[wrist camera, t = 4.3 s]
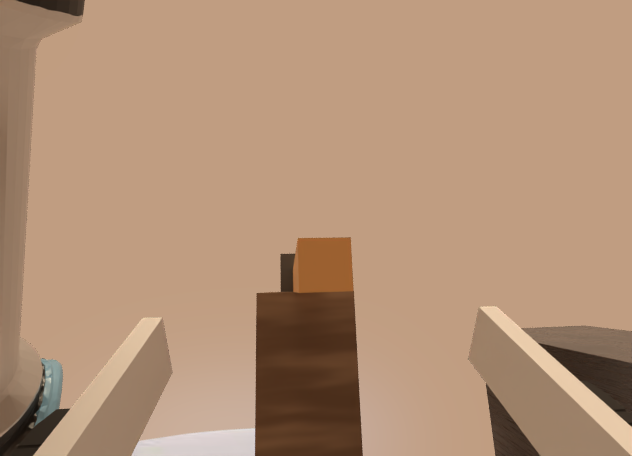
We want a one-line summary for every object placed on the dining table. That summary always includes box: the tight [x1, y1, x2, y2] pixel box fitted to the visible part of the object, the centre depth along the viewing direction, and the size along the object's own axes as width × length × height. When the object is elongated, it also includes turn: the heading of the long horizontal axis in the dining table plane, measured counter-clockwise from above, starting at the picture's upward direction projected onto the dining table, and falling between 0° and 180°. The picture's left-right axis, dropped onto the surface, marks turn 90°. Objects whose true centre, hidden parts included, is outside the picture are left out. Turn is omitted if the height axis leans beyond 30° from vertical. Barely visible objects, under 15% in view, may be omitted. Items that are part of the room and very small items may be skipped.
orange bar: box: [281, 237, 353, 293], centre depth 25 cm, size 24×5×4 cm, turn 5°
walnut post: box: [255, 291, 363, 456], centre depth 28 cm, size 12×8×28 cm, turn 4°
